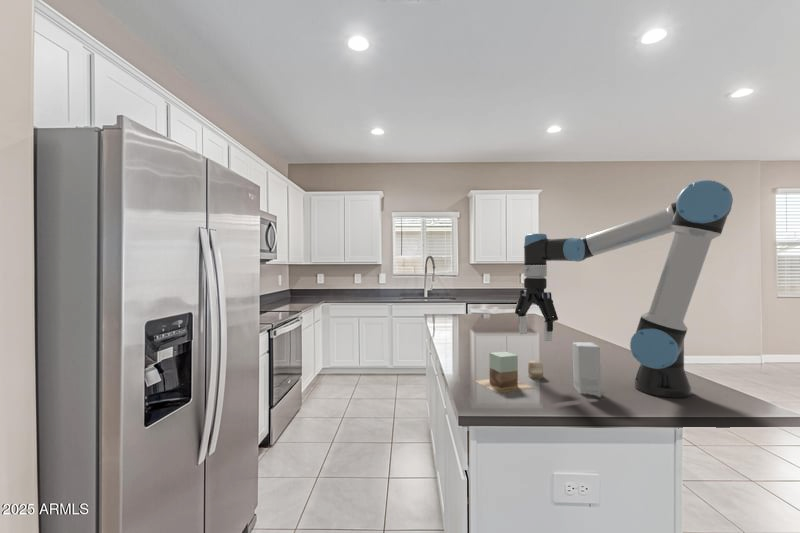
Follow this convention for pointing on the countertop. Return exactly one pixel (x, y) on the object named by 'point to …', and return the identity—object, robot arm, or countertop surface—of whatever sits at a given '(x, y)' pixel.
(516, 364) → the sage mid block
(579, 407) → the countertop surface
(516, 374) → the walnut base block
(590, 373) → the skincare box
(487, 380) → the light wood square board
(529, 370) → the oak cylinder
